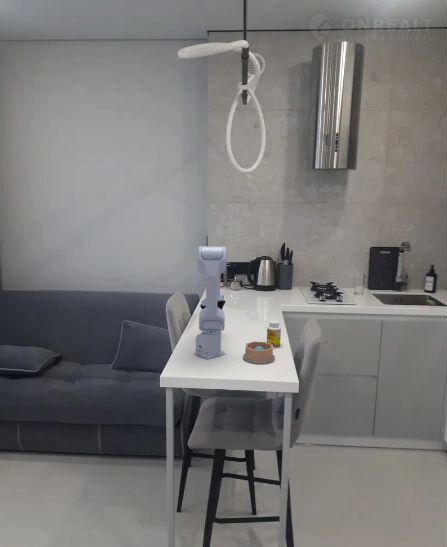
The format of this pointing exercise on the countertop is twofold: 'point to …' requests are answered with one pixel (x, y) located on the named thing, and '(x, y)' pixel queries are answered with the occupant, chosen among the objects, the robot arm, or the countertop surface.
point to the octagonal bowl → (259, 353)
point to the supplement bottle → (274, 333)
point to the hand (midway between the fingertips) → (212, 319)
